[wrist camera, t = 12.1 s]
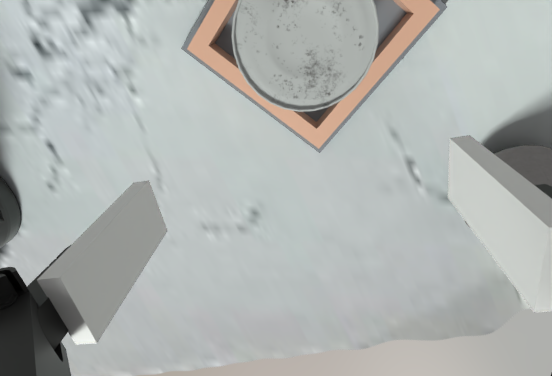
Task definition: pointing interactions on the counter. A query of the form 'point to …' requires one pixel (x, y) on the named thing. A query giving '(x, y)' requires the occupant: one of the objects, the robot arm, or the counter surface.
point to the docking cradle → (328, 121)
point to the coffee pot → (529, 162)
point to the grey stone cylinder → (304, 49)
